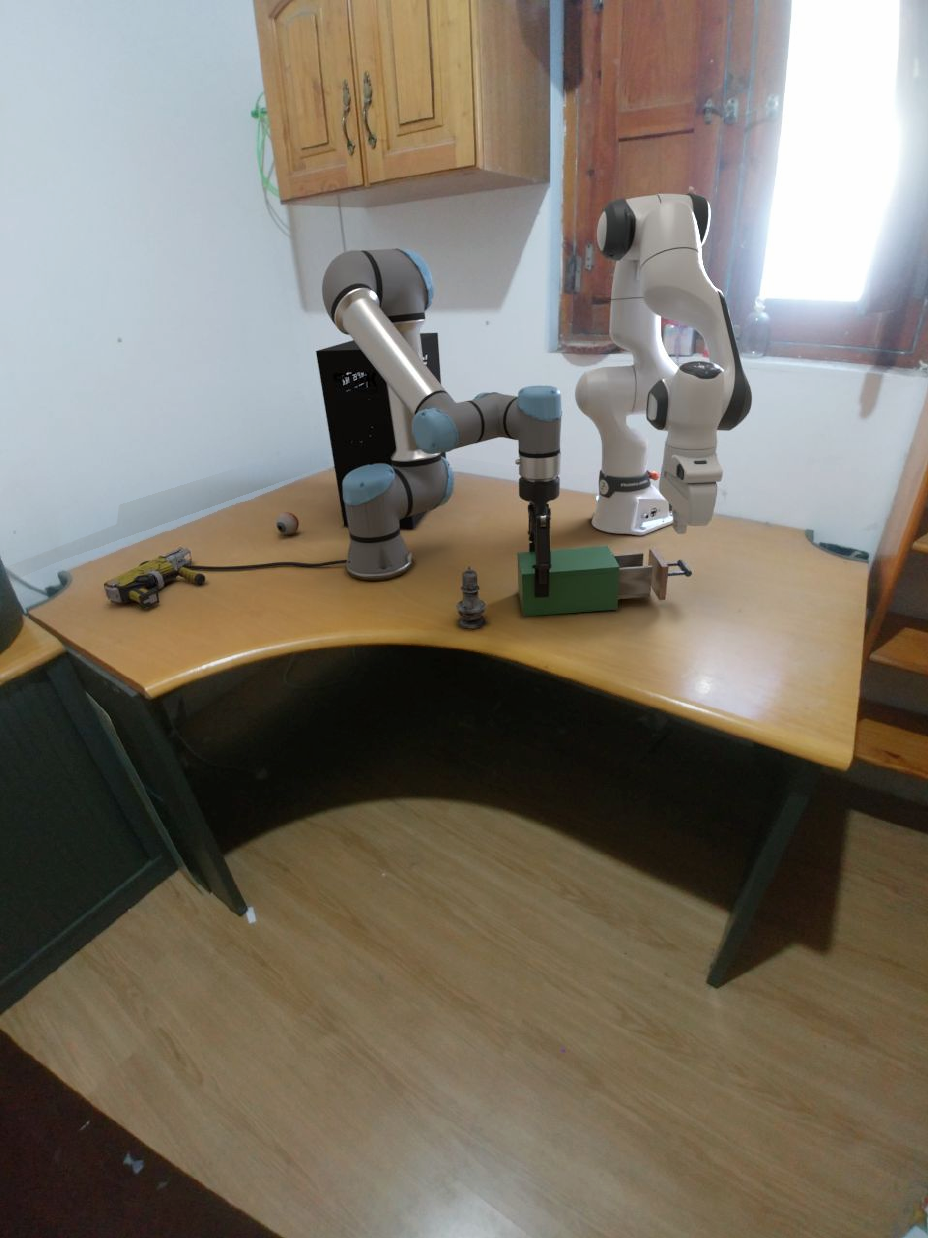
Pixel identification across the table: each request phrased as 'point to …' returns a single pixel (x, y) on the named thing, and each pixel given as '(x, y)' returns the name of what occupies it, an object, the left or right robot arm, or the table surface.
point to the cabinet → (571, 581)
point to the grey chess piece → (471, 602)
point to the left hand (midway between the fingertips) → (538, 583)
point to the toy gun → (150, 579)
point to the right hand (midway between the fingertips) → (678, 531)
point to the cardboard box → (363, 410)
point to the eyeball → (287, 523)
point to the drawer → (645, 574)
